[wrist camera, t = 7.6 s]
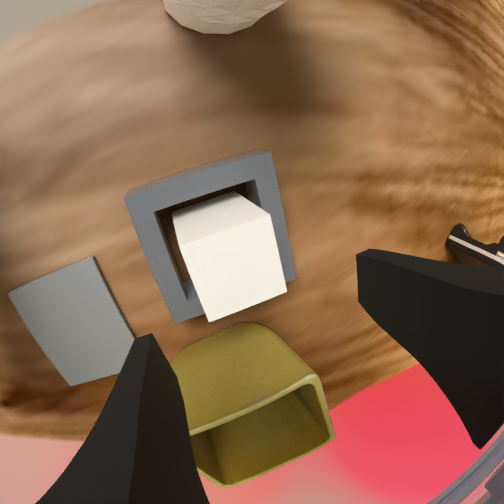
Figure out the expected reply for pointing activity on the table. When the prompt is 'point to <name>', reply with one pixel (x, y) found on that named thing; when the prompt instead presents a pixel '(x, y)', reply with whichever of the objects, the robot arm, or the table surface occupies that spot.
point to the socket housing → (191, 186)
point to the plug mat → (76, 321)
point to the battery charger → (474, 249)
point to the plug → (229, 253)
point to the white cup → (219, 13)
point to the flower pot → (249, 404)
